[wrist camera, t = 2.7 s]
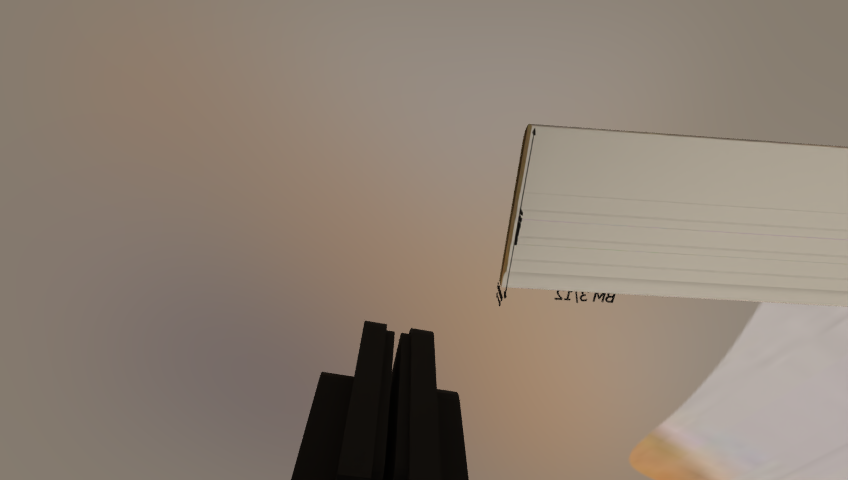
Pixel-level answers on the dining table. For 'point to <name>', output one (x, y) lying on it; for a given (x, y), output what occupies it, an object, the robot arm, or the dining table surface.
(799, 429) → the dining table surface
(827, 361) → the dining table surface
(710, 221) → the baseboard molding
